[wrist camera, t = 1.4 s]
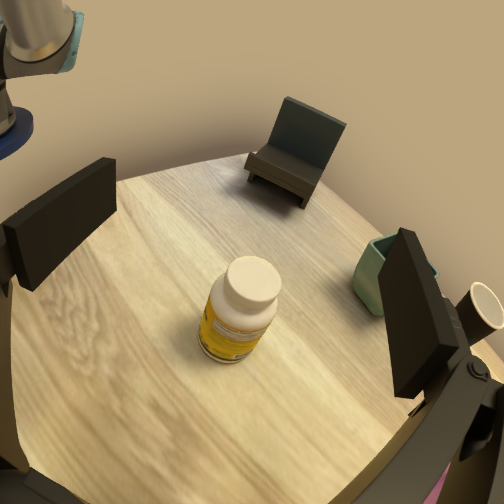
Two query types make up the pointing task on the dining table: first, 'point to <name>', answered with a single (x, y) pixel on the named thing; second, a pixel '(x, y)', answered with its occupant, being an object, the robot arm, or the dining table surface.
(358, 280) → the flower pot
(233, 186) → the dining table surface
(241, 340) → the pill bottle
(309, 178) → the toy chair
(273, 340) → the dining table surface
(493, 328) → the dixie cup
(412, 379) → the robot arm
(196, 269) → the dining table surface
